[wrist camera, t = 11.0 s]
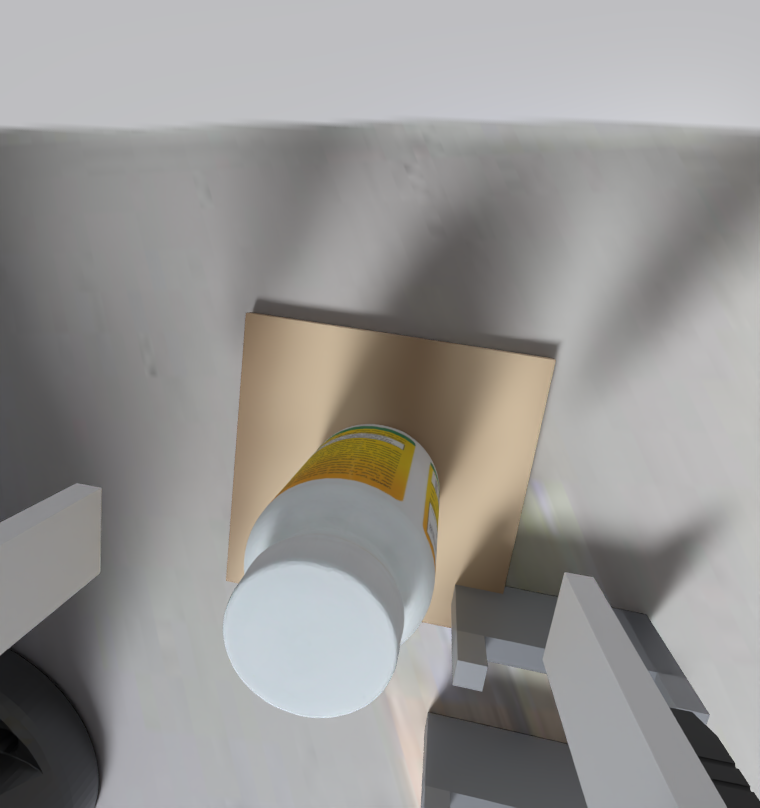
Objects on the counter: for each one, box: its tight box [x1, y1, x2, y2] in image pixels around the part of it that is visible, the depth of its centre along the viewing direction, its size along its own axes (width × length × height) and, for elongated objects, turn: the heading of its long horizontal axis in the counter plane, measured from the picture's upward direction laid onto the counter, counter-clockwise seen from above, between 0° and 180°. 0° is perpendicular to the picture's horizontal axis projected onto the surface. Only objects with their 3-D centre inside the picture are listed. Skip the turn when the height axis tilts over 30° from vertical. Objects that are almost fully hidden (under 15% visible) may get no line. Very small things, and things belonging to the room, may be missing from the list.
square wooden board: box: [226, 312, 556, 628], centre depth 20 cm, size 12×12×1 cm
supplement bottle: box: [223, 424, 440, 718], centre depth 15 cm, size 5×5×10 cm
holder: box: [421, 584, 710, 808], centre depth 19 cm, size 8×8×5 cm
